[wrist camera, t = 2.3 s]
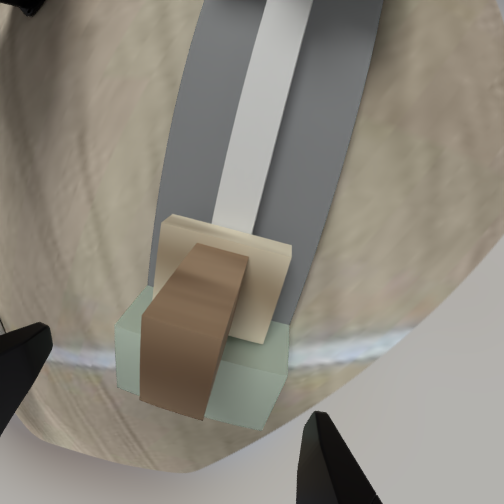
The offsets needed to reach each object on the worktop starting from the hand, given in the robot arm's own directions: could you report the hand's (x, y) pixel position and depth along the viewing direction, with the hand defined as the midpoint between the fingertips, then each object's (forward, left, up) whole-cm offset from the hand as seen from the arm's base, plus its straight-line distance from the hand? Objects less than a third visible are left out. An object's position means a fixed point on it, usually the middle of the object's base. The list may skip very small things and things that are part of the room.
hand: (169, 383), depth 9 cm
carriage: (0, 0, -8) cm, 8 cm away
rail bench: (+6, +4, -11) cm, 13 cm away
